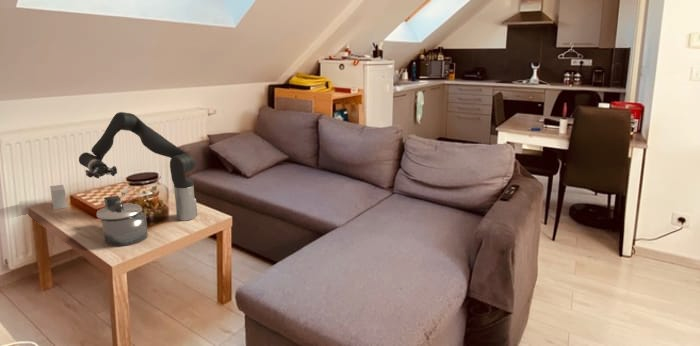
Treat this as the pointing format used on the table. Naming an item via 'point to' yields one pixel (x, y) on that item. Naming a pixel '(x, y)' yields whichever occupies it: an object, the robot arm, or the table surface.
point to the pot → (125, 230)
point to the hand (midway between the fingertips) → (105, 175)
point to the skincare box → (58, 197)
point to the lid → (118, 209)
